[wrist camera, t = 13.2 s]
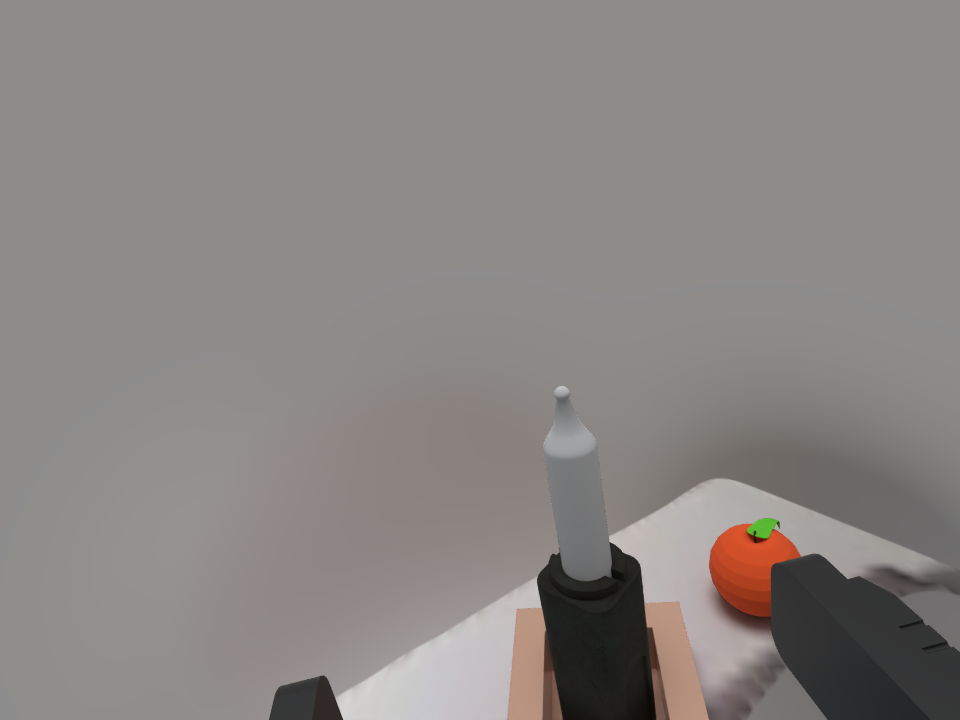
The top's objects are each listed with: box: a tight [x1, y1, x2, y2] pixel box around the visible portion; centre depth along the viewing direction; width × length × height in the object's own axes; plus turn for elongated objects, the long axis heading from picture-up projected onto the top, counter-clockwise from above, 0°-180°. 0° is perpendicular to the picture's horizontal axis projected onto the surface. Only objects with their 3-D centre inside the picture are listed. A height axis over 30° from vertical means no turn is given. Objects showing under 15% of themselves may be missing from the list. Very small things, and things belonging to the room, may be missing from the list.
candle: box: [537, 386, 656, 720], centre depth 34 cm, size 5×5×25 cm
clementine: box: [709, 518, 801, 617], centre depth 46 cm, size 8×7×7 cm
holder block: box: [507, 602, 709, 720], centre depth 38 cm, size 12×12×5 cm
